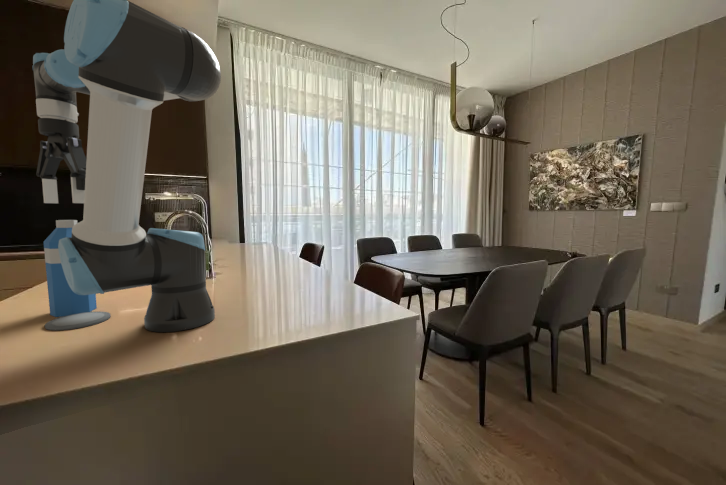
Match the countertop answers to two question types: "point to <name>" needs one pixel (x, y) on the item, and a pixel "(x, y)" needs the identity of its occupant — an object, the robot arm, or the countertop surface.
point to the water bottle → (63, 277)
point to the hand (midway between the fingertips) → (65, 203)
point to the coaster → (77, 321)
